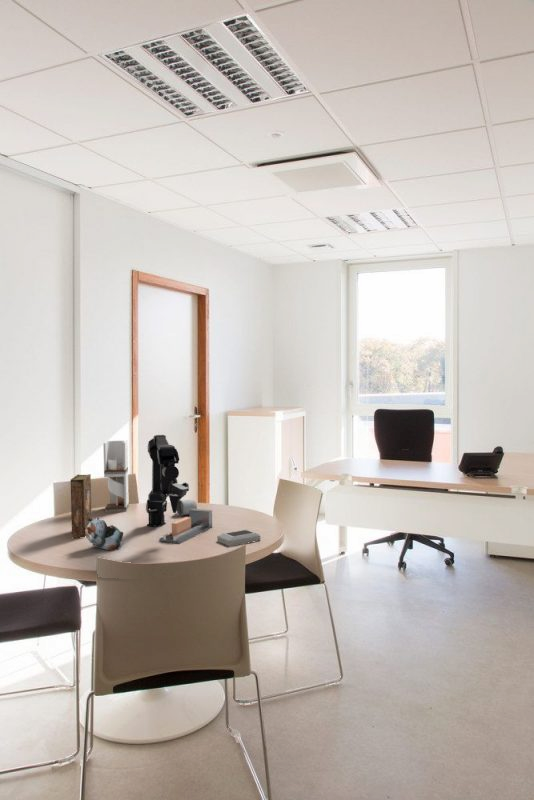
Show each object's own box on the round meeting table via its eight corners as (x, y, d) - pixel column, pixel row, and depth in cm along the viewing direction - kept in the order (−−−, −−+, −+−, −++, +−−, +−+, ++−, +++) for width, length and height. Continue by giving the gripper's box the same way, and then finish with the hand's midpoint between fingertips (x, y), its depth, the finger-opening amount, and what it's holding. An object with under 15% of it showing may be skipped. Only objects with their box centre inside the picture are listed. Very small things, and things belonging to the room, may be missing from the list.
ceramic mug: (198, 514, 311) (197, 499, 310) (183, 517, 306) (183, 501, 305) (186, 511, 319) (186, 496, 319) (172, 513, 314) (172, 498, 314)
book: (84, 538, 268) (83, 479, 267) (71, 538, 267) (69, 480, 266) (91, 528, 284) (90, 473, 283) (79, 529, 284) (78, 474, 283)
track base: (159, 541, 261) (158, 522, 261) (192, 525, 287) (192, 508, 287) (180, 543, 257) (179, 524, 257) (212, 527, 283) (212, 510, 283)
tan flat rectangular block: (171, 537, 263) (171, 523, 263) (186, 530, 274) (186, 517, 274) (176, 537, 262) (176, 523, 262) (191, 531, 273) (190, 517, 273)
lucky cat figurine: (121, 551, 247) (103, 523, 243) (93, 562, 248) (76, 534, 244) (127, 531, 261) (110, 504, 257) (101, 542, 262) (84, 515, 258)
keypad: (217, 533, 260) (248, 528, 268) (217, 542, 260) (248, 536, 268) (229, 538, 252) (260, 532, 260) (229, 547, 252) (260, 541, 260)
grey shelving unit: (108, 507, 330) (106, 440, 329) (128, 506, 331) (127, 440, 330) (104, 512, 319) (103, 443, 318) (126, 511, 320) (124, 442, 319)
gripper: (171, 481, 246) (172, 521, 246) (196, 474, 262) (197, 512, 263) (147, 480, 250) (148, 519, 250) (173, 473, 267) (174, 510, 267)
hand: (168, 515), depth 258 cm, fingers open, 9 cm apart
